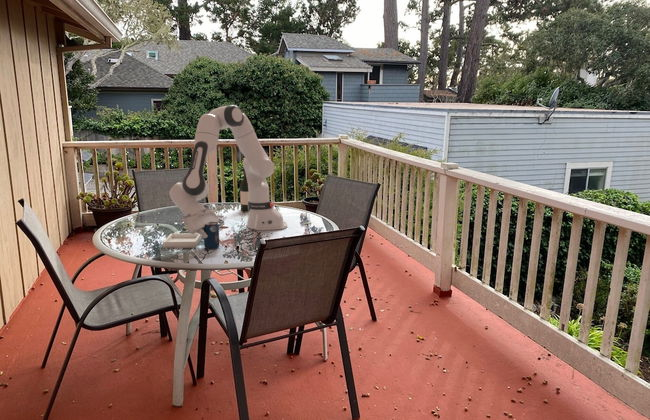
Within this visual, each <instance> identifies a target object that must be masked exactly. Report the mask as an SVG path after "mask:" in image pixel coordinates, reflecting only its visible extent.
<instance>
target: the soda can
mask: <svg viewBox="0 0 650 420" xmlns="http://www.w3.org/2000/svg"><path fill="white" fill-rule="evenodd" d="M218 224H219V223H217V222H209V223H207V224H205V227H204V230H203V231H204V232H205V233H208V235H209V237H208V238H204V237H203V242H204V245H203V246H204V248H205V249H207V250H211V251H212V250H217V249H219V247H220V230H219V229H220V226H219V225H218Z"/></svg>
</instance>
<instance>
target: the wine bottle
mask: <svg viewBox="0 0 650 420" xmlns="http://www.w3.org/2000/svg"><path fill="white" fill-rule="evenodd" d="M239 190H240V191H239V193H240V194H239V196H240V197H239V198H240V199H239V200H240V211H241V212H249V211H248V201H249V189H248V182H247V178H246V173H245V169H244V168H243V178H242V181H241V182H240V183H239Z"/></svg>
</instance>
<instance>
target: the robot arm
mask: <svg viewBox="0 0 650 420" xmlns="http://www.w3.org/2000/svg"><path fill="white" fill-rule="evenodd" d="M227 129H230V130H231V133H232V135H233V138H234V141H235V142H236V146H237V147H238V149H239V151H240V153H241V154H242V155H243V156H244V159H243V162H242V167H243V170H244V169H245V173H246V178H247V182H248V189H249V201H248V211H247V212H248V216H247V223H246V228H247V229H251V230H255V231H272V230H284V229H286V228H288V222H286V221H285V220H284V218H283V217H284V216H283V215H282V213H281V212H280V211H278V210H277V209H275V208H274V203H273V201H270V188H269V187H270V186H269V184H268V181H267V178H268V177H272V175H273V174H274V173H275V164H274V162H273V161H272V160H271V159H270V158H269V156H268V155H267V153H266V150H265V149H264V148H263V146H262V145H261V143H260V141H259V139H258V137H257V133H256V132H255V129H254V127H253V125H252V123H251V121H250V120H249V118H248V116H247V115H246V114H245V113H243V111H242V109H241V108H240V107H239V106H238V105H235V104H229V105H222V106H219V107H217V108H212V109H211V110H209V111H207V112H206V113H204V114H202V115H201V116H200V117H199V120H198V123H197V126H196V129H195V130H196V131H195V135H194V142H193V143H194V145H193V151H192V155H191V161H190V164H189V169H188V171H187V174H186V175H185V176H184V178H183V180H182V181H181V182H176V183H174V184H173V185H172V186H171V187H170V189H169V191H168V192H169V193H168V194H169V195H168V196H169V197H170V200H171V201H172V202H173V203H174V204H175V207H177V208H178V209H180V211H181V213H182V214H183V216H182V218H181V221H182V222H183V225H184V227H185V228H186V230H187V231H188V233H191V234H194V233H199V234H200V235H201V237H203V239H204V238H208V237H209V235H208V233H205V232H204V227H205V224H207V223H209V222H217V224H219V222H220V218H219V216H218V215H217V214H216V213H215V211H214V210H213V209H211V207H210V205H208V204H202V203H199V201H201V200H202V199H205V198H206V197H207V196H208V195H209V194H210V190H211V188H210V184H209V183H208V181H207V180H205V177H204V170H205V166H206V161H207V157H208V156H209V155H210V154H211V155H212V154H213V153H214V152H216V149H217V147H218V144H219V137H220V130H227Z"/></svg>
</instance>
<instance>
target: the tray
mask: <svg viewBox="0 0 650 420" xmlns="http://www.w3.org/2000/svg"><path fill="white" fill-rule="evenodd" d="M202 237H203V236H202V235H200V234H199V233H198V232H197V233H194V234H191V233H190V232H188V233H187V232H186V233H179V232H178V233H170V234H169V235H168V236H167V237H166V239H165V240H164V241H162V242H163V249H196V248H198V246H199V244H200V242H201V241H202V239H203V238H202Z"/></svg>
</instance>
